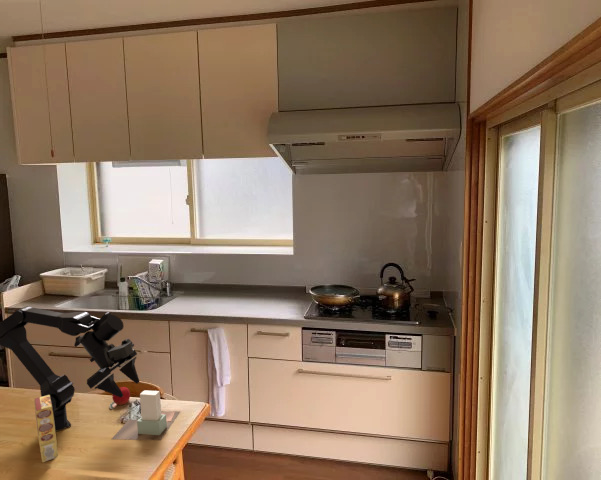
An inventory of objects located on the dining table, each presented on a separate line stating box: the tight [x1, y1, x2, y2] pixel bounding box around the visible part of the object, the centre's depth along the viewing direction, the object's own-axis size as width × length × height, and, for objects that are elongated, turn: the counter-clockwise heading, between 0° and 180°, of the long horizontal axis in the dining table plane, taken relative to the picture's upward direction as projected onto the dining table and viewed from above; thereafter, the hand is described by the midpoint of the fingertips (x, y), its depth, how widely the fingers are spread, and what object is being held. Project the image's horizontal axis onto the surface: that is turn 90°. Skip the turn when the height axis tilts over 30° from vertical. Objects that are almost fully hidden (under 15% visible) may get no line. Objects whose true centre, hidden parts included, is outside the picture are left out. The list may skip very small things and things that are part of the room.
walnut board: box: [111, 410, 181, 441], centre depth 139 cm, size 15×16×1 cm
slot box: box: [137, 414, 167, 435], centre depth 136 cm, size 7×5×4 cm, turn 80°
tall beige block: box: [139, 390, 162, 421], centre depth 135 cm, size 5×3×12 cm, turn 80°
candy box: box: [33, 395, 59, 463], centre depth 127 cm, size 9×4×15 cm, turn 33°
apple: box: [108, 386, 131, 410], centre depth 154 cm, size 8×8×6 cm
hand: (130, 389), depth 136 cm, fingers open, 9 cm apart
